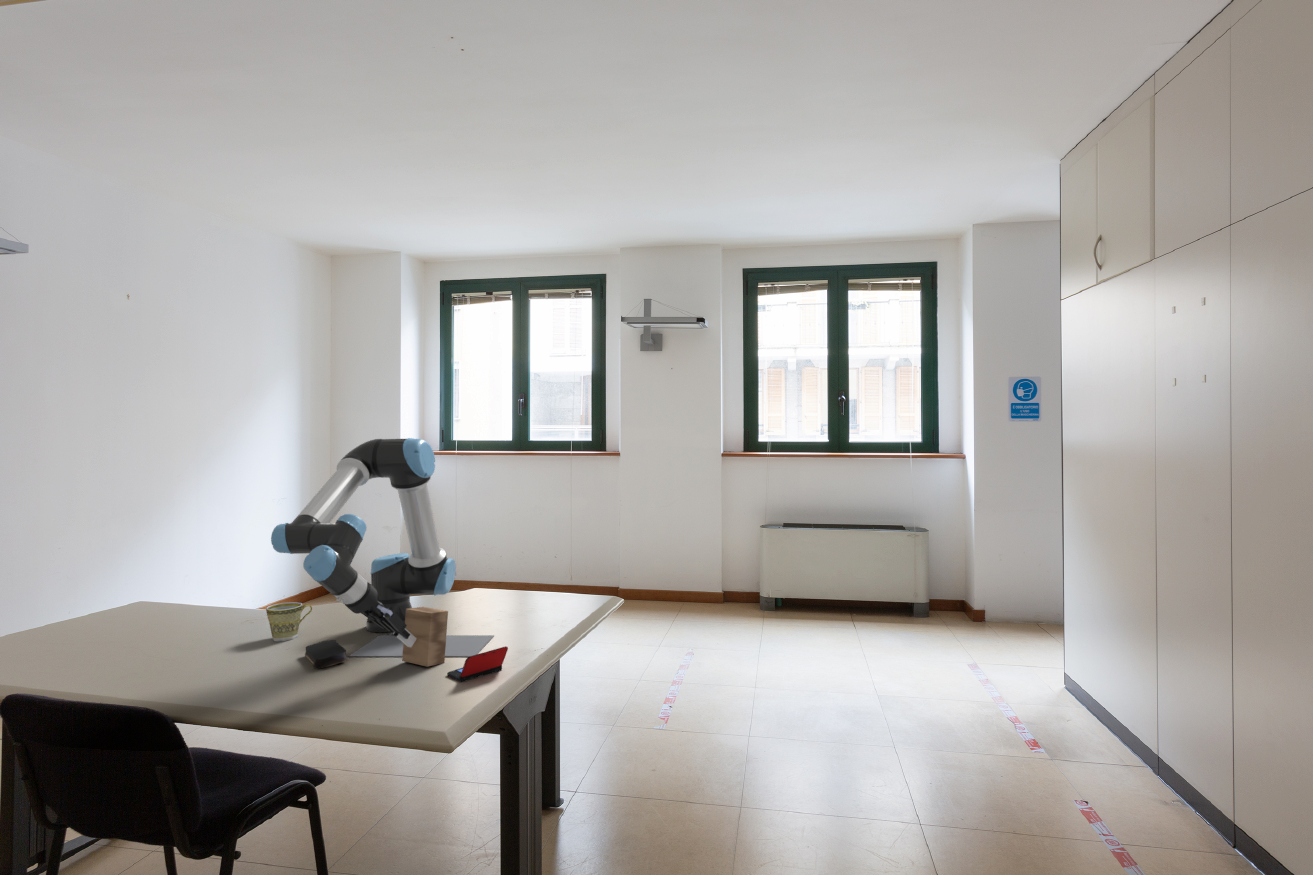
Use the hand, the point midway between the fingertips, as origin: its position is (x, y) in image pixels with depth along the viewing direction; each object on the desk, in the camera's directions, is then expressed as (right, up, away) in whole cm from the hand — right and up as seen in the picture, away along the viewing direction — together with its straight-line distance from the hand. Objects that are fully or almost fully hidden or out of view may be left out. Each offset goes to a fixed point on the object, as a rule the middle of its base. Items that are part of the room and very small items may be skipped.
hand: (412, 642), depth 195 cm
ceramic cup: (-48, -7, +30) cm, 57 cm away
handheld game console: (+19, -7, -7) cm, 22 cm away
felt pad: (-2, -6, +18) cm, 19 cm away
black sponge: (-27, -7, +7) cm, 28 cm away
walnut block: (+2, -6, +3) cm, 7 cm away
